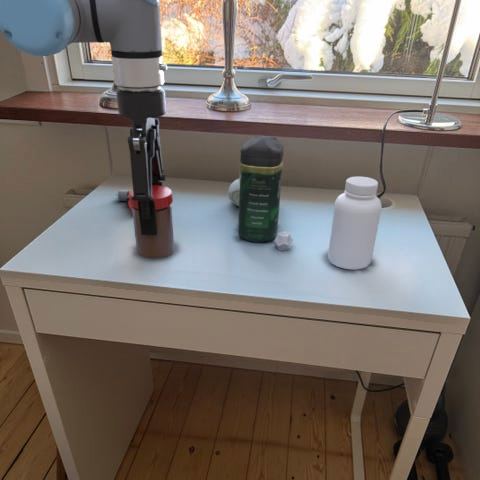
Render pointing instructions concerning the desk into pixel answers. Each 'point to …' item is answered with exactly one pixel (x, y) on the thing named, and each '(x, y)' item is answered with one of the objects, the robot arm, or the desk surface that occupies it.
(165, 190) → the lid
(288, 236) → the game die
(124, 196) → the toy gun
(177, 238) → the desk surface
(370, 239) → the pill bottle
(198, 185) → the desk surface
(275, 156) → the coffee jar
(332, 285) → the desk surface
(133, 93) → the robot arm
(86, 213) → the desk surface
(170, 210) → the jam jar
